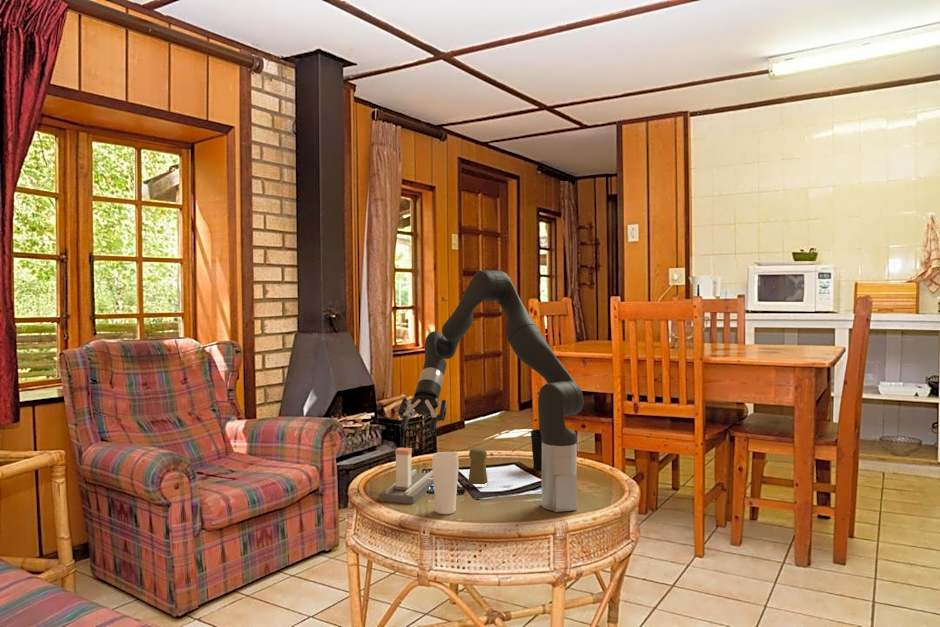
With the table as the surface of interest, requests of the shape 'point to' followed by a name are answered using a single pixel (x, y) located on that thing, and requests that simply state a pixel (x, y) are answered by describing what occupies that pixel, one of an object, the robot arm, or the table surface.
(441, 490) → the drinking glass
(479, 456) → the cork
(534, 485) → the table surface
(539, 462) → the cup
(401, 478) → the fader tab
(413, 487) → the fader board
